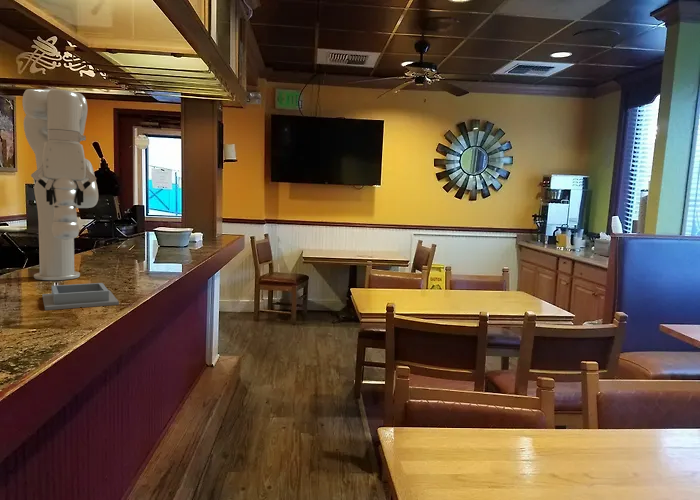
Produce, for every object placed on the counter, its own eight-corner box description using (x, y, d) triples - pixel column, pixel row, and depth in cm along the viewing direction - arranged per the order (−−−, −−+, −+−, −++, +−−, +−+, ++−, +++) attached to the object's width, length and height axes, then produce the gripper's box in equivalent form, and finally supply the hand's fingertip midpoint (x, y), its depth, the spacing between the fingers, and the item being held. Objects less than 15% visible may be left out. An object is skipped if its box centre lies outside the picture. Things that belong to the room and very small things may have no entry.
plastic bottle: (84, 238, 142) (83, 167, 140) (68, 241, 135) (67, 165, 133) (62, 237, 142) (62, 166, 140) (46, 239, 136) (45, 164, 133)
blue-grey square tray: (42, 297, 132) (42, 284, 132) (109, 292, 141) (109, 281, 140) (45, 310, 119) (44, 296, 118) (118, 304, 127) (118, 291, 127)
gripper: (97, 141, 143) (98, 205, 146) (25, 135, 134) (27, 203, 136) (101, 140, 137) (101, 206, 139) (26, 133, 128) (27, 204, 130)
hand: (65, 204), depth 138 cm, fingers closed on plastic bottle, 6 cm apart
